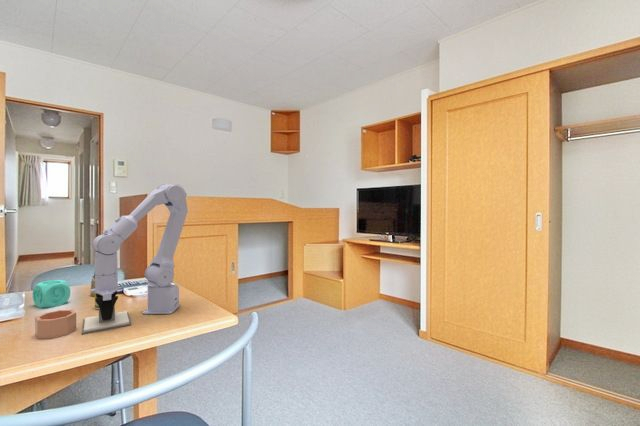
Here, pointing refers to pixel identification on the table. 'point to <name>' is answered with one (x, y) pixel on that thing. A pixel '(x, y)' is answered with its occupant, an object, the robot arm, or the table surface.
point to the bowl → (55, 324)
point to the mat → (105, 328)
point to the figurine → (93, 286)
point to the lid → (98, 322)
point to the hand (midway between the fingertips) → (106, 317)
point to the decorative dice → (51, 293)
